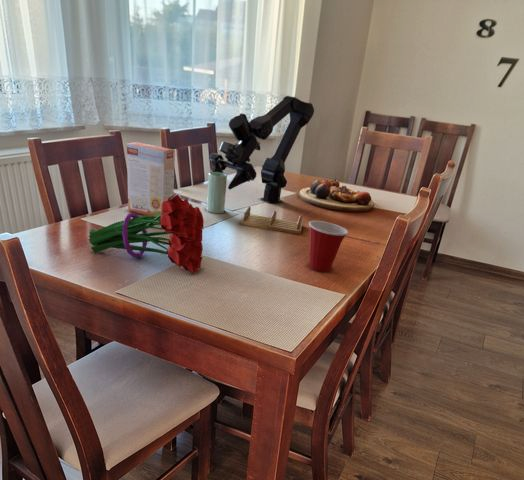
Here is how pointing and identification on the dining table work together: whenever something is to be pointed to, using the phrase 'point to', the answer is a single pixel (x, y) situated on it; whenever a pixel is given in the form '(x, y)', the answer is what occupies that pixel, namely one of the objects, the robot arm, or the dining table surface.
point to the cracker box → (149, 177)
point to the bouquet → (172, 222)
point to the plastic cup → (324, 244)
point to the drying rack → (272, 223)
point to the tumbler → (216, 192)
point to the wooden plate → (336, 196)
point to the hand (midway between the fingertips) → (219, 185)
